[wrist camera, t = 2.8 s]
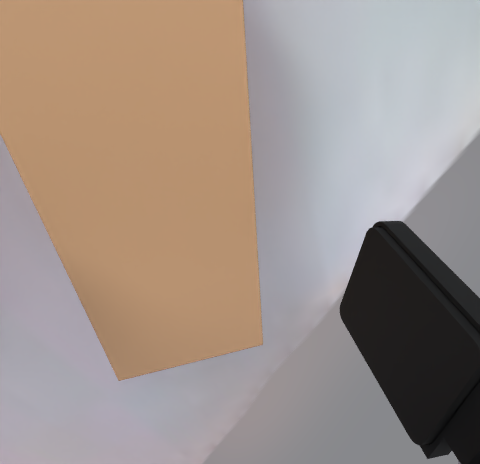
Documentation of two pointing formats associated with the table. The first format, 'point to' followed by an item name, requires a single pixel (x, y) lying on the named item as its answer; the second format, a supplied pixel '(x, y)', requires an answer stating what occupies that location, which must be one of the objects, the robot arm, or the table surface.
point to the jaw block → (140, 167)
